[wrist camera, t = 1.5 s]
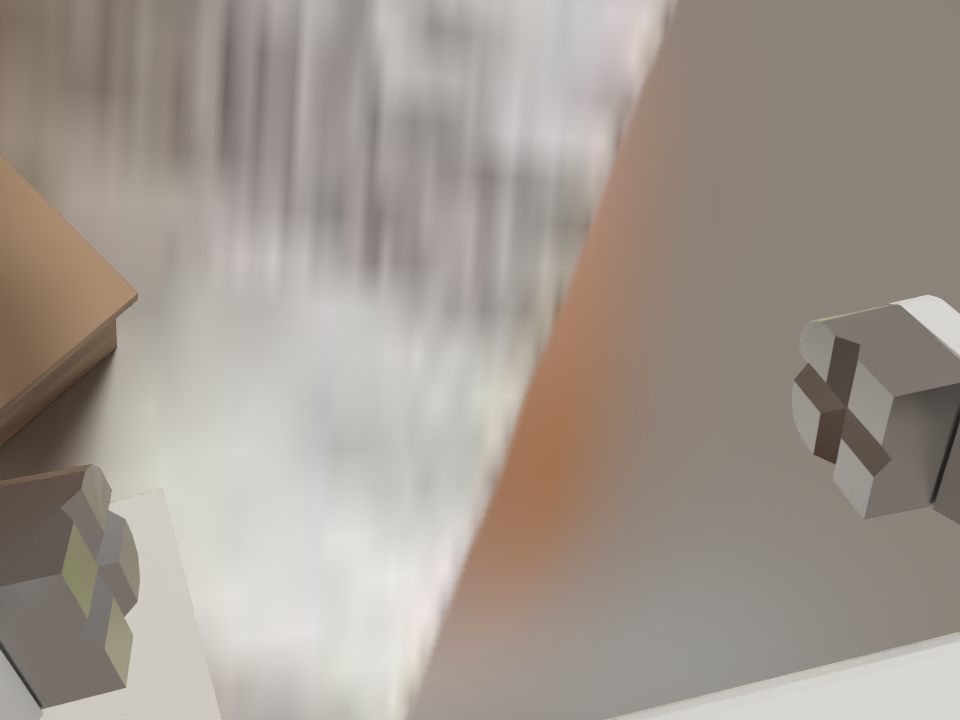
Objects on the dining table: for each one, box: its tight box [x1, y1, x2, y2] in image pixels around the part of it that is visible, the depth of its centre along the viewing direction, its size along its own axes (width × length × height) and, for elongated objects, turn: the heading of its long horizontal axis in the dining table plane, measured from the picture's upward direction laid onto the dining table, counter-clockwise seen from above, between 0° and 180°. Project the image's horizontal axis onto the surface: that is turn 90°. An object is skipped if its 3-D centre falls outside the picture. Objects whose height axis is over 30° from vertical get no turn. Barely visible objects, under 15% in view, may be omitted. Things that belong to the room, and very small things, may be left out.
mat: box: [39, 488, 221, 720], centre depth 31 cm, size 13×12×1 cm
